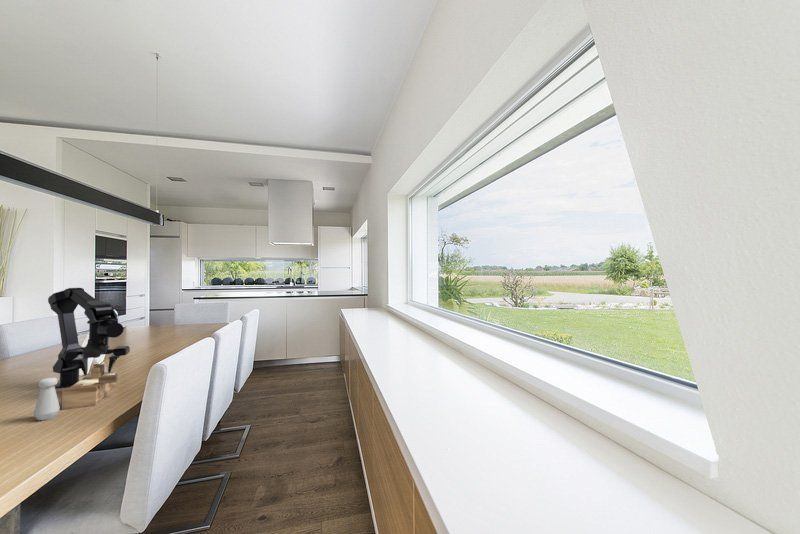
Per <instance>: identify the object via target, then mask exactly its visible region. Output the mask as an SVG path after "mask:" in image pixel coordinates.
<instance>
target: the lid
mask: <svg viewBox="0 0 800 534" xmlns="http://www.w3.org/2000/svg"><path fill="white" fill-rule="evenodd" d="M105 365H106V364H96V365H95V366H93V367H92V368H91V369H90V373H87V375H84V377H82V378H80V379H79V380H80V381H78V382H77V383H76V384H74V385H81V386H88V385H94V384H95V383H98V380H99V377H100V376H106V375H115V374H116V373H117V371H116V370H115V371H112V370H111V372H110V373H108V371H105V367H106V366H105Z"/></svg>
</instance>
